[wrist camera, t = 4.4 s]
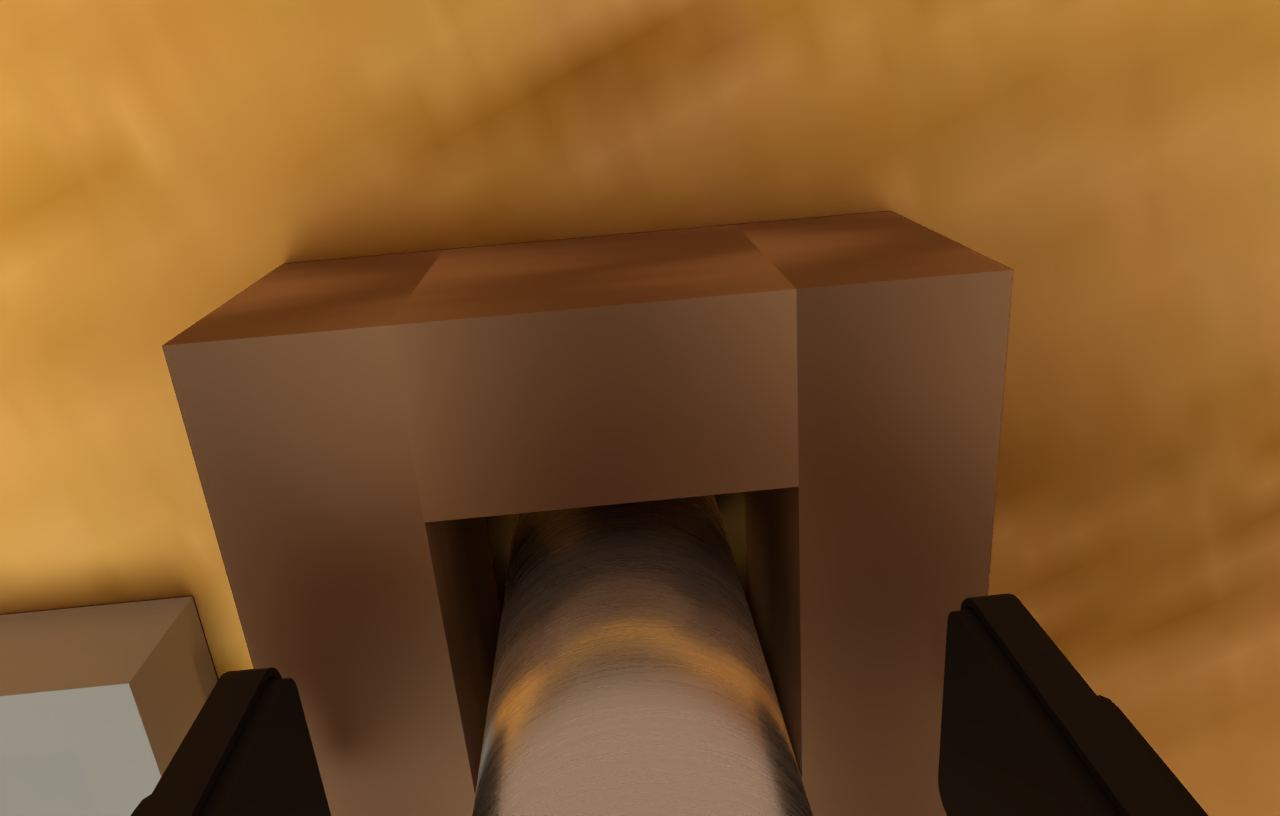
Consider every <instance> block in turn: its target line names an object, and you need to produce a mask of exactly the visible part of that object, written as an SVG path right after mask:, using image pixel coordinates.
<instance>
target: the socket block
mask: <svg viewBox="0 0 1280 816" xmlns="http://www.w3.org/2000/svg"><path fill="white" fill-rule="evenodd" d="M1012 279H1013V269H1011V268H1009V267H1007V266H1004V265H1002V264H1000V263H998V262H996V261H994V260H992V259H990V258H988V257H986V256H984V255H982V254H980V253H978V252H975V251H973V250H971V249H969V248H967V247H965V246H963V245H961V244H959V243H957V242H955V241H953V240H951V239H949V238H946V237H944V236H942V235H940V234H938V233H936V232H934V231H932V230H930V229H928V228H926V227H924V226H922V225H920V224H917V223H915V222H913V221H911V220H909V219H907V218H905V217H903V216H901V215H899V214H897V213H895V212H893V211H883V212H872V213H860V214H849V215H837V216H826V217H814V218H803V219H791V220H780V221H768V222H757V223H745V224H734V225H722V226H711V227H699V228H688V229H676V230H665V231H653V232H642V233H630V234H619V235H607V236H596V237H584V238H573V239H561V240H550V241H538V242H527V243H515V244H504V245H493V246H481V247H470V248H458V249H447V250H435V251H424V252H412V253H401V254H389V255H378V256H366V257H355V258H343V259H332V260H320V261H309V262H297V263H286V264H282V265H281V266H279V267H278V268H276V269H275V270H273V271H272V272H270V273H269V274H267V275H266V276H264V277H263V278H261V279H260V280H258V281H257V282H256V283H254V284H253V285H251V286H250V287H248V288H247V289H245V290H244V291H242V292H241V293H239V294H238V295H236V296H235V297H233V298H232V299H230V300H229V301H227V302H226V303H225V304H223V305H222V306H220V307H219V308H217V309H216V310H214V311H213V312H211V313H210V314H208V315H207V316H205V317H204V318H202V319H201V320H199V321H198V322H196V323H195V324H194V325H192V326H191V327H189V328H188V329H186V330H185V331H183V332H182V333H180V334H179V335H177V336H176V337H174V338H173V339H171V340H170V341H168V342H167V343H165V344H164V345H162V347H163V351H164V354H165V358H166V361H167V365H168V369H169V372H170V376H171V379H172V383H173V386H174V390H175V393H176V397H177V400H178V404H179V407H180V411H181V414H182V418H183V421H184V425H185V428H186V432H187V435H188V439H189V442H190V446H191V449H192V453H193V457H194V460H195V464H196V467H197V471H198V474H199V478H200V481H201V485H202V488H203V492H204V495H205V499H206V502H207V506H208V509H209V513H210V516H211V520H212V523H213V527H214V530H215V534H216V538H217V541H218V545H219V548H220V552H221V555H222V559H223V562H224V566H225V569H226V573H227V576H228V580H229V583H230V587H231V590H232V594H233V597H234V601H235V604H236V608H237V611H238V615H239V618H240V622H241V626H242V629H243V633H244V636H245V640H246V643H247V647H248V650H249V654H250V657H251V661H252V664H253V668H254V669H260V668H270V667H273V668H276V669H277V670H278V671H279V673H280V674H281V677H282V679H283V678H292V679H293V680H294V681H295V683H296V685H297V688H298V692H299V696H300V699H301V703H302V707H303V711H304V715H305V718H306V722H307V726H308V730H309V733H310V737H311V741H312V745H313V749H314V752H315V756H316V760H317V764H318V767H319V771H320V775H321V779H322V783H323V786H324V790H325V794H326V798H327V801H328V805H329V809H330V813H331V816H472V814H473V807H474V800H475V793H476V786H477V779H478V772H479V765H480V758H481V752H482V745H483V738H484V731H485V724H486V717H487V710H488V703H489V696H490V689H491V683H492V676H493V669H494V662H495V655H496V648H497V641H498V634H499V627H500V620H501V612H500V606H499V599H498V593H497V587H496V580H495V574H494V568H493V561H492V555H491V548H490V542H489V536H488V529H487V523H486V517H487V516H498V515H508V514H519V513H529V512H539V511H550V510H560V509H571V508H581V507H592V506H602V505H613V504H623V503H633V502H644V501H654V500H665V499H675V498H686V497H696V496H706V495H717V494H727V493H738V492H745V503H746V530H747V558H748V585H749V605H748V606H749V609H750V612H751V616H752V619H753V622H754V625H755V629H756V632H757V635H758V638H759V642H760V645H761V648H762V651H763V655H764V658H765V661H766V664H767V668H768V671H769V674H770V677H771V681H772V684H773V687H774V690H775V694H776V697H777V700H778V703H779V707H780V710H781V713H782V716H783V720H784V723H785V726H786V729H787V733H788V736H789V739H790V742H791V746H792V749H793V752H794V756H795V759H796V762H797V765H798V769H799V772H800V775H801V778H802V782H803V785H804V788H805V791H806V795H807V798H808V801H809V804H810V808H811V811H812V814H813V816H947V814H946V812H945V810H944V807H943V804H942V801H941V797H940V793H939V786H938V769H939V752H940V735H941V719H942V702H943V685H944V668H945V652H946V635H947V621H948V616H949V614H950V612H952V611H960V609H961V604H962V602H963V600H964V599H966V598H970V597H980V596H988V586H989V573H990V560H991V547H992V535H993V522H994V509H995V496H996V484H997V471H998V458H999V445H1000V432H1001V420H1002V407H1003V394H1004V381H1005V369H1006V356H1007V343H1008V330H1009V318H1010V305H1011V292H1012Z"/></svg>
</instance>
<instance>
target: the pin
mask: <svg viewBox="0 0 1280 816" xmlns="http://www.w3.org/2000/svg"><path fill="white" fill-rule="evenodd" d="M472 816H813V814H812V811H811V808H810V804H809V801H808V798H807V795H806V791H805V788H804V785H803V782H802V778H801V775H800V772H799V769H798V765H797V762H796V759H795V756H794V752H793V749H792V746H791V742H790V739H789V736H788V733H787V729H786V726H785V723H784V720H783V716H782V713H781V710H780V707H779V703H778V700H777V697H776V694H775V690H774V687H773V684H772V681H771V677H770V674H769V671H768V668H767V664H766V661H765V658H764V655H763V651H762V648H761V645H760V642H759V638H758V635H757V632H756V629H755V625H754V622H753V619H752V616H751V612H750V609H749V606H748V603H747V599H746V596H745V593H744V589H743V586H742V583H741V580H740V576H739V573H738V570H737V567H736V563H735V560H734V557H733V554H732V550H731V547H730V544H729V541H728V537H727V534H726V531H725V528H724V524H723V521H722V518H721V515H720V511H719V508H718V505H717V502H716V498H715V495H706V496H696V497H686V498H675V499H665V500H654V501H644V502H633V503H623V504H613V505H602V506H592V507H581V508H571V509H560V510H550V511H539V512H529V513H519V514H516V517H515V524H514V531H513V538H512V545H511V551H510V558H509V565H508V572H507V579H506V586H505V593H504V600H503V607H502V614H501V620H500V627H499V634H498V641H497V648H496V655H495V662H494V669H493V676H492V683H491V689H490V696H489V703H488V710H487V717H486V724H485V731H484V738H483V745H482V752H481V758H480V765H479V772H478V779H477V786H476V793H475V800H474V807H473V814H472Z"/></svg>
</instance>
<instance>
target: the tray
mask: <svg viewBox="0 0 1280 816" xmlns="http://www.w3.org/2000/svg"><path fill="white" fill-rule="evenodd" d="M217 681H218V680H217V676H216V673H215V670H214V666H213V663H212V660H211V656H210V653H209V650H208V647H207V643H206V640H205V637H204V633H203V630H202V627H201V624H200V620H199V617H198V614H197V610H196V607H195V604H194V601H193V597H192V596H190V597H180V598H170V599H160V600H149V601H139V602H129V603H119V604H108V605H98V606H88V607H77V608H67V609H57V610H47V611H36V612H26V613H16V614H6V615H0V816H131V814H132V813H133V811H134V810H135V808H136V807H137V806H138V805H139V803H140V802H141V801H142V799H144V798H146V797H147V796H149V795H150V794H152V792H153V790H154V789H155V787H156V785H157V784H158V782H159V780H160V778H161V777H162V775H163V773H164V772H165V770H166V768H167V767H168V765H169V763H170V761H171V760H172V758H173V756H174V755H175V753H176V751H177V750H178V748H179V746H180V744H181V743H182V741H183V739H184V738H185V736H186V734H187V733H188V731H189V729H190V727H191V726H192V724H193V722H194V721H195V719H196V717H197V716H198V714H199V712H200V710H201V709H202V707H203V705H204V704H205V702H206V700H207V699H208V697H209V695H210V693H211V692H212V690H213V688H214V687H215V685H216V683H217Z"/></svg>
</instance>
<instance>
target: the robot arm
mask: <svg viewBox="0 0 1280 816" xmlns="http://www.w3.org/2000/svg"><path fill="white" fill-rule="evenodd" d="M938 786H939V793H940V797H941V801H942V804H943V807H944V810H945V812H946V814H947V816H1208V815H1207V814H1206V812H1205V811H1204V810H1203V809H1202V807H1201V806H1200V805H1199V804H1198V803H1197V801H1196V800H1195V799H1194V798H1193V797H1192V795H1191V794H1190V793H1189V792H1188V791H1187V789H1186V788H1185V787H1184V786H1183V785H1182V783H1181V782H1180V781H1179V780H1178V779H1177V777H1176V776H1175V775H1174V774H1173V773H1172V771H1171V770H1170V769H1169V768H1168V767H1167V765H1166V764H1165V763H1164V762H1163V761H1162V759H1161V758H1160V757H1159V756H1158V755H1157V753H1156V752H1155V751H1154V750H1153V749H1152V747H1151V746H1150V745H1149V744H1148V742H1147V741H1146V740H1145V739H1144V738H1143V736H1142V735H1141V734H1140V733H1139V732H1138V730H1137V729H1136V728H1135V727H1134V726H1133V724H1132V723H1131V722H1130V721H1129V720H1128V718H1127V717H1126V716H1125V715H1124V714H1123V712H1122V711H1121V710H1120V709H1119V708H1118V707H1117V706H1116V705H1115V704H1114V703H1113V702H1112V701H1111V700H1110V699H1108V698H1105V697H1103V696H1101V695H1099V696H1097V695H1096V694H1095V693H1094V692H1093V690H1092V689H1091V688H1090V687H1089V685H1088V684H1087V683H1086V682H1085V680H1084V679H1083V678H1082V677H1081V676H1080V674H1079V673H1078V672H1077V671H1076V669H1075V668H1074V667H1073V666H1072V664H1071V663H1070V662H1069V661H1068V660H1067V658H1066V657H1065V656H1064V655H1063V653H1062V652H1061V651H1060V650H1059V648H1058V647H1057V646H1056V645H1055V644H1054V642H1053V641H1052V640H1051V639H1050V637H1049V636H1048V635H1047V634H1046V632H1045V631H1044V630H1043V629H1042V627H1041V626H1040V625H1039V624H1038V623H1037V621H1036V620H1035V619H1034V618H1033V616H1032V615H1031V614H1030V613H1029V611H1028V610H1027V609H1026V608H1025V607H1024V605H1023V604H1022V603H1021V602H1020V600H1019V599H1018V598H1017V597H1016V596H1014V595H1013V594H1000V595H990V596H980V597H970V598H966V599H964V600H963V602H962V604H961V609H960V611H952V612H950V614H949V616H948V621H947V635H946V652H945V668H944V685H943V702H942V719H941V735H940V752H939V769H938ZM131 816H331V813H330V809H329V805H328V801H327V798H326V794H325V790H324V786H323V783H322V779H321V775H320V771H319V767H318V764H317V760H316V756H315V752H314V749H313V745H312V741H311V737H310V733H309V730H308V726H307V722H306V718H305V715H304V711H303V707H302V703H301V699H300V696H299V692H298V688H297V685H296V683H295V681H294V680H293V679H292V678H283V679H282V677H281V674H280V673H279V671H278V670H277V669H276V668H273V667H270V668H260V669H250V670H240V671H230V672H226V673H224V674H223V675H222V676H221V677H220V678H219V680H218V681H217V683H216V685H215V687H214V688H213V690H212V692H211V693H210V695H209V697H208V699H207V700H206V702H205V704H204V705H203V707H202V709H201V710H200V712H199V714H198V716H197V717H196V719H195V721H194V722H193V724H192V726H191V727H190V729H189V731H188V733H187V734H186V736H185V738H184V739H183V741H182V743H181V744H180V746H179V748H178V750H177V751H176V753H175V755H174V756H173V758H172V760H171V761H170V763H169V765H168V767H167V768H166V770H165V772H164V773H163V775H162V777H161V778H160V780H159V782H158V784H157V785H156V787H155V789H154V790H153V792H152V794H150V795H149V796H147V797H146V798H144V799H142V801H141V802H140V803H139V805H138V806H137V807H136V808H135V810H134V811H133V813H132V814H131Z"/></svg>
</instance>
